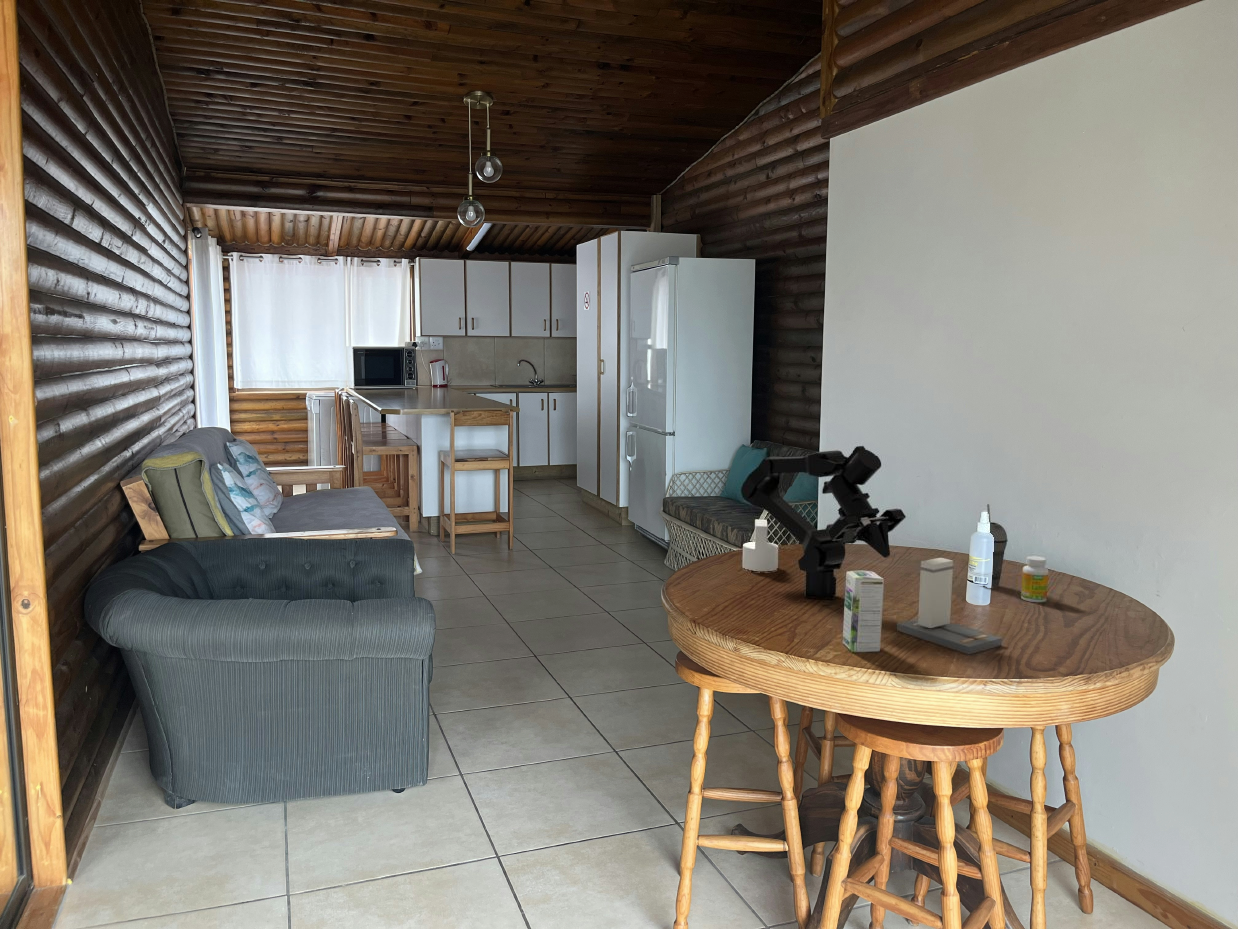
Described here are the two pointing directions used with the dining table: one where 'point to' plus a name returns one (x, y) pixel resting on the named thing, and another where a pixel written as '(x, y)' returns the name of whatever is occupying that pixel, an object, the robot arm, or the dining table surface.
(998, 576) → the beverage cup
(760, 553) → the base with upright slab
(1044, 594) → the supplement bottle
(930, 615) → the fader knob
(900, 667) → the dining table surface
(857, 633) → the syrup box
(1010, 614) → the dining table surface
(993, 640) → the fader console
